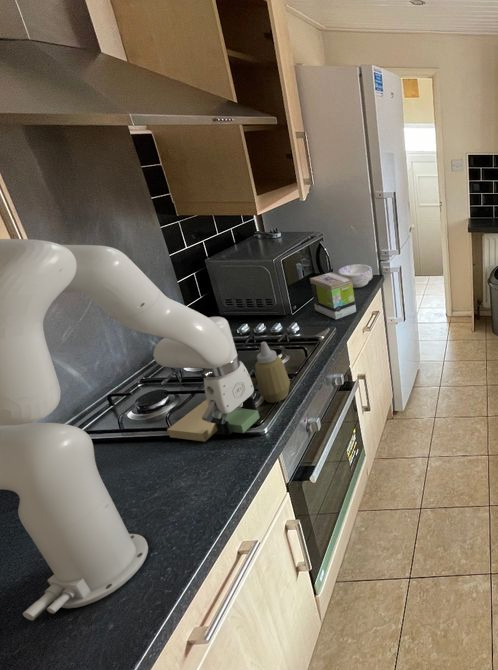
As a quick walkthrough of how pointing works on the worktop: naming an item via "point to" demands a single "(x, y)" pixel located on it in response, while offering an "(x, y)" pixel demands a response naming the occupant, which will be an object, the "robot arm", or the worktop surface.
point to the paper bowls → (357, 274)
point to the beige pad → (193, 425)
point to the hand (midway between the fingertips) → (238, 421)
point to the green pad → (241, 419)
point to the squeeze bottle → (271, 375)
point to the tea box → (333, 295)
